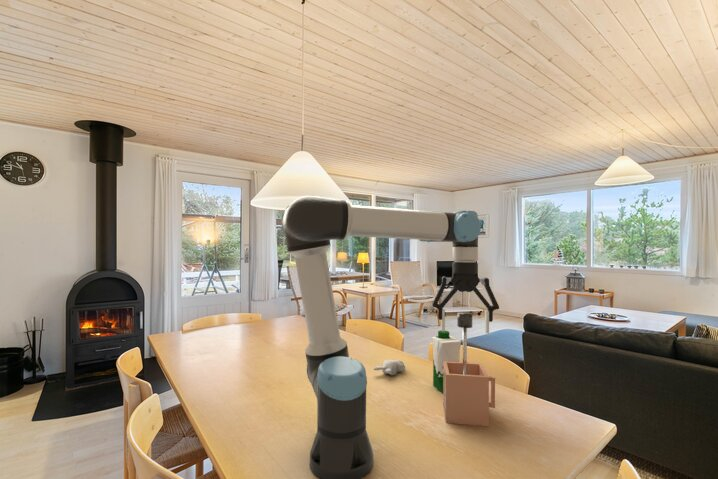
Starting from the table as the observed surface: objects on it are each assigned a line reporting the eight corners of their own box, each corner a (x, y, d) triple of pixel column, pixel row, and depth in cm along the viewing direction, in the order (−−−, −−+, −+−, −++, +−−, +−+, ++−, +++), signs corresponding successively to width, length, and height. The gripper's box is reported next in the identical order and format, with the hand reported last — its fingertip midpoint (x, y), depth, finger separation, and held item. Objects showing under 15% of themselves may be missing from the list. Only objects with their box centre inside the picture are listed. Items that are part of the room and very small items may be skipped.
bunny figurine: (410, 360, 148) (392, 366, 136) (409, 373, 148) (391, 380, 136) (390, 356, 154) (371, 361, 142) (389, 368, 153) (370, 374, 141)
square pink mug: (498, 427, 103) (499, 378, 103) (445, 422, 105) (446, 374, 105) (490, 408, 115) (490, 364, 115) (443, 404, 117) (443, 361, 117)
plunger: (482, 391, 105) (482, 316, 105) (451, 389, 107) (451, 315, 107) (477, 380, 114) (477, 311, 114) (448, 378, 115) (449, 310, 116)
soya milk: (450, 382, 135) (451, 329, 135) (464, 392, 126) (464, 335, 127) (429, 385, 133) (429, 330, 133) (441, 395, 124) (441, 337, 124)
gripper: (504, 261, 112) (503, 330, 112) (424, 260, 116) (424, 326, 116) (510, 262, 105) (509, 336, 105) (424, 261, 109) (424, 332, 109)
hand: (464, 331), depth 110 cm, fingers open, 12 cm apart
